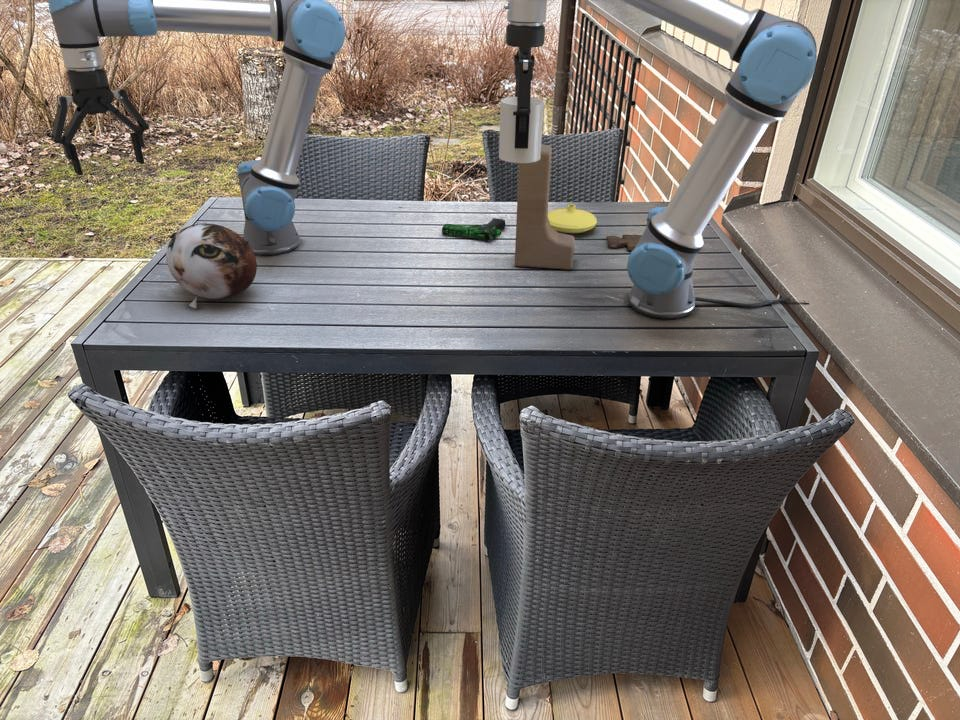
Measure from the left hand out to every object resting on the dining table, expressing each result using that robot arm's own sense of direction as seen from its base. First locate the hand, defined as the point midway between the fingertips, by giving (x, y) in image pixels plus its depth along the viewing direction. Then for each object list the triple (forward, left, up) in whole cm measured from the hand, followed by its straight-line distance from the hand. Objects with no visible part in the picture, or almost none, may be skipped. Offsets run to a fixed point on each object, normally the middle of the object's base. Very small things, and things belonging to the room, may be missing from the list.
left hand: (110, 168), depth 162 cm
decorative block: (+77, +67, -28) cm, 106 cm away
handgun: (+50, +76, -28) cm, 95 cm away
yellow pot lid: (+71, +94, -28) cm, 121 cm away
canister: (+83, +42, +6) cm, 93 cm away
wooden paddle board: (+96, +96, -28) cm, 139 cm away
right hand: (+83, +42, +10) cm, 93 cm away
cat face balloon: (+24, +5, -28) cm, 37 cm away
